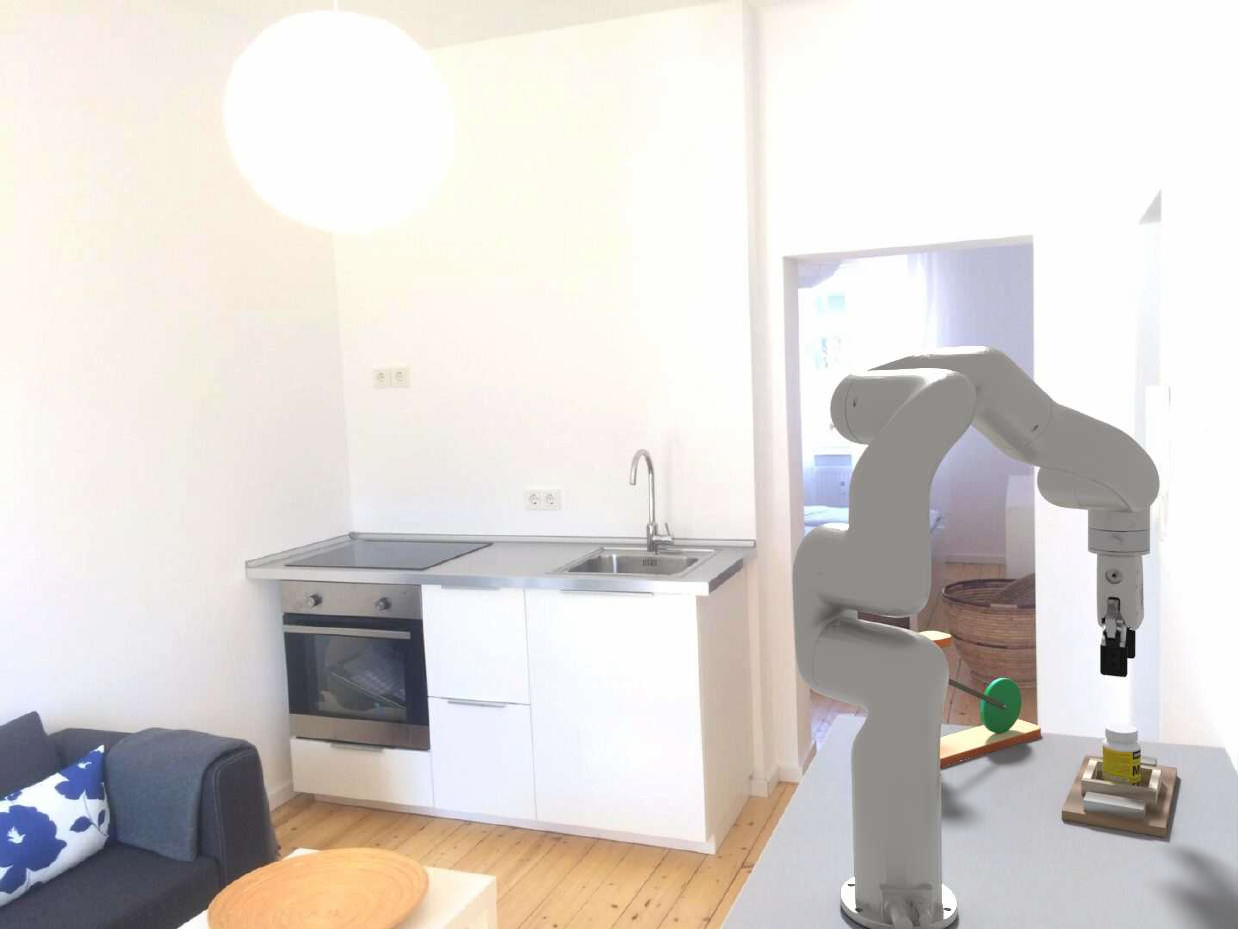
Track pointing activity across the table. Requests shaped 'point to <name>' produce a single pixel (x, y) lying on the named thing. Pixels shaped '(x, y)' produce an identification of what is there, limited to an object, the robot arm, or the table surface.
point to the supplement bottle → (1121, 755)
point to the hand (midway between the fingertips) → (1118, 666)
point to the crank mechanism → (986, 718)
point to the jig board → (1120, 823)
